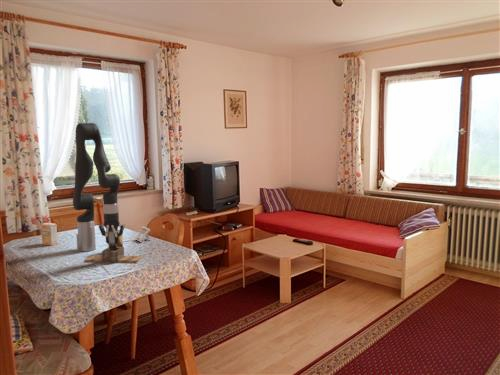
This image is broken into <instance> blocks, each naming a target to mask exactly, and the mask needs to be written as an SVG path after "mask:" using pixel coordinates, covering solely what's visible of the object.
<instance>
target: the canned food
mask: <svg viewBox="0 0 500 375" xmlns="http://www.w3.org/2000/svg"><path fill="white" fill-rule="evenodd" d="M119 231H120V229H118V232H119ZM123 242H124V241H123V234H122V235H121V236H119V242H118V243H117V247H124V243H123ZM108 247H109V244H108ZM108 247H107V248H108Z"/></svg>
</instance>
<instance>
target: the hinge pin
mask: <svg viewBox="0 0 500 375" xmlns="http://www.w3.org/2000/svg"><path fill="white" fill-rule="evenodd" d="M108 241H109V248H116V247H117V244H115V234H114V232H113V231H108Z"/></svg>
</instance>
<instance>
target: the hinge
mask: <svg viewBox="0 0 500 375" xmlns="http://www.w3.org/2000/svg"><path fill="white" fill-rule="evenodd" d="M142 259H143V256H142V255H125V247H124V246H123V247H116V248H109V247H107V248H105V249H103V250H102V251H101V255H98V254H97V255H96V254H95V255H93V254H92V255H90V256H88V257H86V258H85V259H84V263H109V264H110V263H111V264H112V263H116V264H117V263H124V264H125V263H128V264H134V263H135V264H137V263H139V261H141V260H142Z"/></svg>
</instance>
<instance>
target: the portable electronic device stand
mask: <svg viewBox="0 0 500 375" xmlns="http://www.w3.org/2000/svg"><path fill="white" fill-rule="evenodd" d="M142 232H143V233H144V234H143V238H142V239H141V238H140V237H141V235H142ZM148 233H151V228H148V227H145V226H141V227H140V229H139V233H138V236H137V237H134V240H135V241H136V240H137V242H138V241H139V243H141V242H143V243H144V242H145V239H147V238H148V240H149V239H151V238H150V235H149V234H148Z"/></svg>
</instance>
